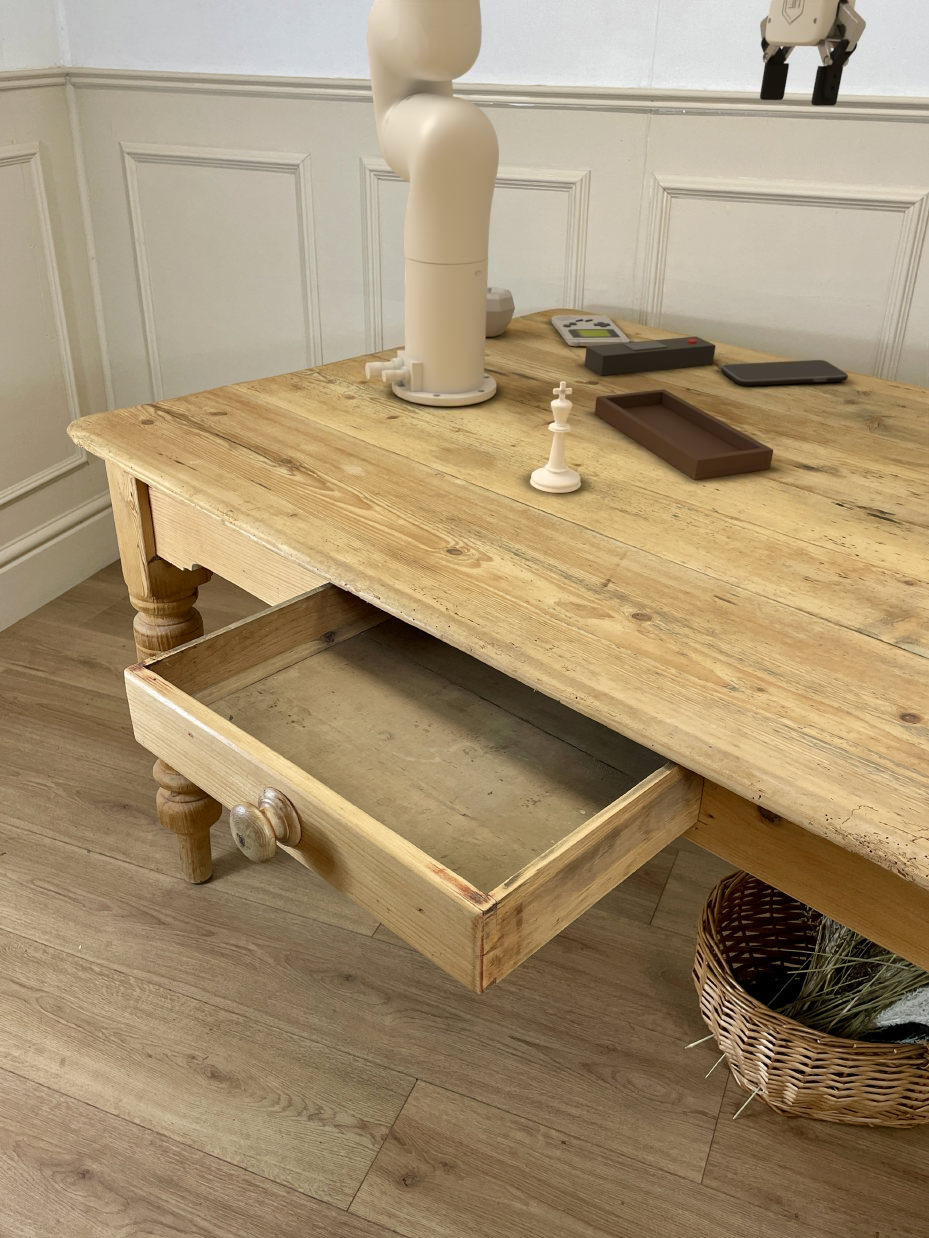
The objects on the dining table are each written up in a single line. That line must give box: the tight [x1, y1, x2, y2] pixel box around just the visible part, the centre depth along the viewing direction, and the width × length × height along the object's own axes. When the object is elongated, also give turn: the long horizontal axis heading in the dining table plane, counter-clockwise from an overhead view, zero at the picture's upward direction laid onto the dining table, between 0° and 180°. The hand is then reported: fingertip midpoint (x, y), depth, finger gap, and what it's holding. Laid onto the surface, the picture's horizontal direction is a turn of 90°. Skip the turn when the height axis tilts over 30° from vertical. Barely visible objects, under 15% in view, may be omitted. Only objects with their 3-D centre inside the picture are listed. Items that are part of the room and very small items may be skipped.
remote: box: [584, 336, 717, 377], centre depth 131 cm, size 17×5×3 cm, turn 112°
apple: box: [485, 286, 516, 337], centre depth 142 cm, size 8×8×7 cm
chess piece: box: [529, 380, 582, 494], centre depth 94 cm, size 5×5×10 cm
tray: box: [594, 388, 774, 481], centre depth 107 cm, size 9×21×2 cm, turn 22°
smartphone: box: [720, 359, 849, 387], centre depth 129 cm, size 7×1×15 cm
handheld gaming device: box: [551, 314, 631, 347], centre depth 145 cm, size 9×1×15 cm
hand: (796, 102), depth 120 cm, fingers open, 9 cm apart
